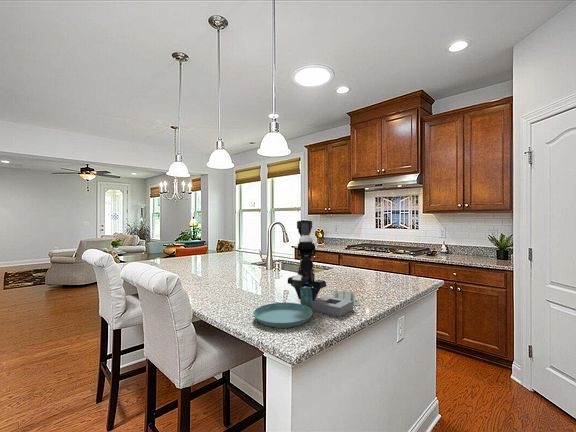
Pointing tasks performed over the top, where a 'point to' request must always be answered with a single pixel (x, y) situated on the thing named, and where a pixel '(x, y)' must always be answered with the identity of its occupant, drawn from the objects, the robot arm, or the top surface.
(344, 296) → the metal bracket
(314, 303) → the well block
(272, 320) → the saucer
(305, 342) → the top surface
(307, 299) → the teal peg
